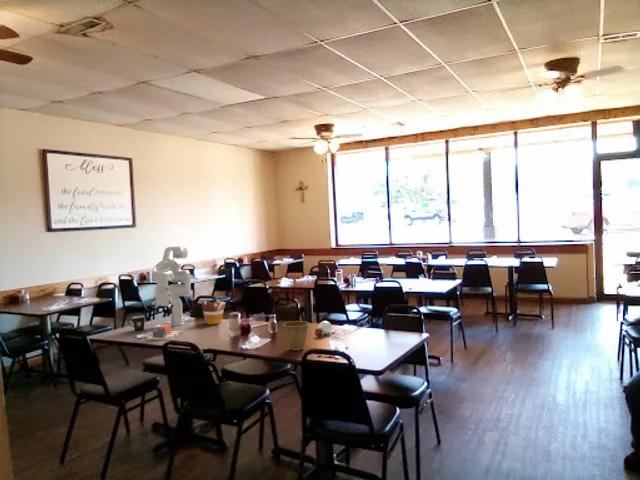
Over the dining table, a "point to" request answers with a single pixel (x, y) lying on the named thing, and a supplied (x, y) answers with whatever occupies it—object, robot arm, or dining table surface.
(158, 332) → the coupler nose
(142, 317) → the coffee mug
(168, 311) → the robot arm
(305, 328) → the plant pot
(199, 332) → the dining table surface
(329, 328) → the potion bottle
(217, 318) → the bucket of meat
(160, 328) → the block
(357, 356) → the dining table surface
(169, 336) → the slatted wooden trivet
